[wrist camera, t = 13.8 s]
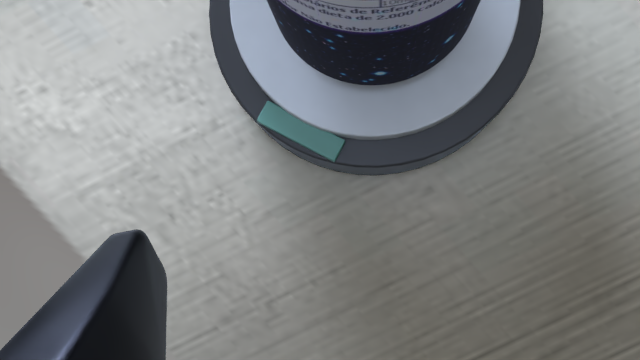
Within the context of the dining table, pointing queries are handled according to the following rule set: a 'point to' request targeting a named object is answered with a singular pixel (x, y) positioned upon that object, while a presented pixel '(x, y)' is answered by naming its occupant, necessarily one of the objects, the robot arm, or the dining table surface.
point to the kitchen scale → (374, 89)
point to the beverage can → (373, 35)
